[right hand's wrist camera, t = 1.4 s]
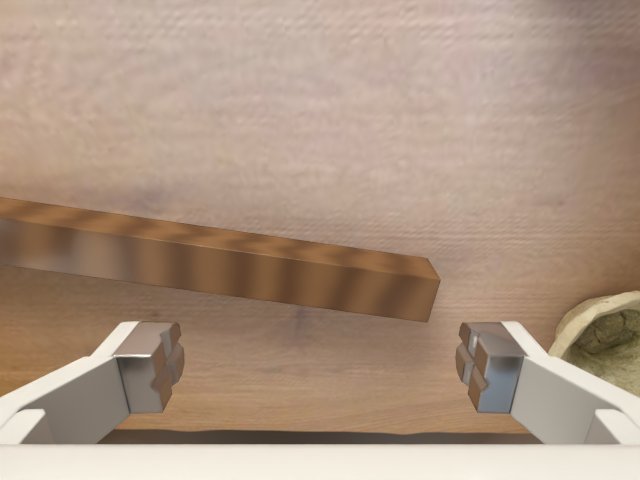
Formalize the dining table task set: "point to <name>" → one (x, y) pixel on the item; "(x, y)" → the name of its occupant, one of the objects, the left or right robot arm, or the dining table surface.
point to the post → (215, 260)
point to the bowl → (603, 339)
